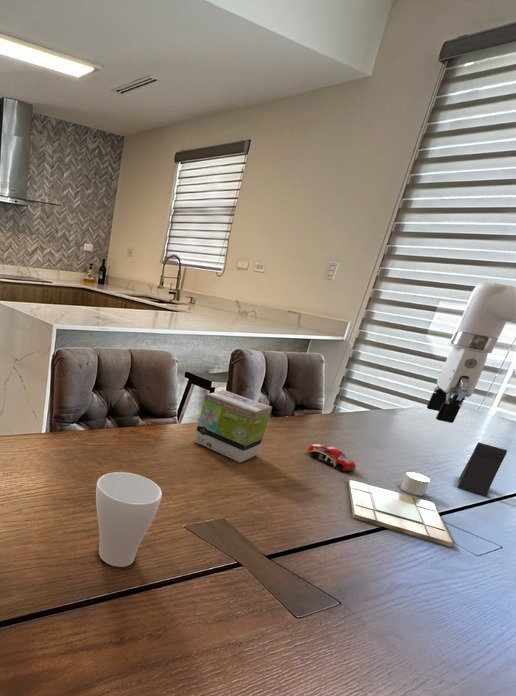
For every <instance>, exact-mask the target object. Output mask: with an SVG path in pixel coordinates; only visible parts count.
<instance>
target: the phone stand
mask: <svg viewBox="0 0 516 696" xmlns="http://www.w3.org/2000/svg"><path fill="white" fill-rule="evenodd" d="M507 453H508V449H505V448H500V447H497V446H493V445H491V444H490V445H489V444H486V443H483V442H477V443H476V445H475V448H474V449H473V452H472V454H470V455H471V456H469V459H468V461H467V463H466V465H465V466H464V468H463V470H462V472H461V474H460V475H459V478H458V482H457V488H458V489H461V490H463V491H464V490H465V491H468V492H469V493H470V492H471V493H474V494H476V495H480V496H483V497H486V496H487V494H488V492H489V490H490V488H491V486H492V483H493V482H494V480H495V477H496V476H497V473H498V471H499V468H500V467H501V465H502V463H503V461H504V459H505V458H506V456H507Z"/></svg>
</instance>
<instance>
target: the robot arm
mask: <svg viewBox="0 0 516 696" xmlns="http://www.w3.org/2000/svg"><path fill="white" fill-rule="evenodd" d="M507 322H509V323H512V324H516V285H513V284H507V283H498V282H487V281H486V282H485V281H484V282H480V283H478V284H477V285H476V286H475V287H474V288H473V290H472V293H471V295H470V297H469V300H468V302H467V304H466V307H465V309H464V311H463V313H462V315H461V318H460V320H459V322H458V323H457V326H456V329H455V331H454V332H453V335H452V338H451V340H450V342H449V345H448V346H450V347H452V348H451V350H450V352H449V354H448V356H447V358H446V360H445V362H444V364H443V366H442V368H441V370H440V373H439V375H438V377H437V380H436V387H435V388H434V390H433V392H432V394H431V396H430V398H429V401H428V403H427V406H426V409H427V410H431V411H437V414H436V416H435V419H436V420H437V421H440V422H445V423H450V424H453V423H454V422H455V420H456V418H457V416H458V413H459V411H460V410H461V407H462V406H463V403H464V401H465V400H466V398H470V397H471V396H472V395H473V394H474V391H475V389H476V387H477V385H478V382H479V380H480V377H481V375H482V372H483V370H484V367H485V364H486V362H487V358H488V354H492V353H493V350H494V348H495V346H496V344H497V342H498V340H499V339H500V336H501V334H502V332H503V330H504V328H505V326H506V323H507Z"/></svg>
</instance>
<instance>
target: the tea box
mask: <svg viewBox="0 0 516 696" xmlns="http://www.w3.org/2000/svg"><path fill="white" fill-rule="evenodd" d="M272 410H273V406H271V405H268V404H265V403H262V402H259V401H256V400H254V399H251V398H248V397H246V396H243V395H239V394H236V393H234V392H231V391H229V390H225V389H222V390H218V391H215V392H210V393H205V395H204V399H203V402H202V406H201V411H200V414H199V417H198V423H197V426H196V430H195V435H194V439H193V443H195V444H199V445H201V446H203V447H206V448H207V449H209V450H212V451H213V452H216V453H218V454H220V455H223V456H225V457H227V458H229V459H231V460H233V461H235V462H237V463H239V464H240V463H243V462H244V461H247V460H250V459H251V458H254V457H255V456H257V455H258V453H259V451H260V447H261V445H262V441H263V439H264V436H265V431H266V429H267V426H268V423H269V418H270V416H271V413H272Z"/></svg>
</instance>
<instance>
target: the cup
mask: <svg viewBox="0 0 516 696" xmlns="http://www.w3.org/2000/svg"><path fill="white" fill-rule="evenodd" d="M162 499H163V491H162V488H161V486H159V485H158V484H157V483H156V482H154V481H153V480H151V479H149V478H147V477H146V476H143V475H139V474H137V473H131V472H126V471H125V472H123V471H115V472H109V473H105V474H103V475H101V476H100V477H99V478H98V479H97V482H96V489H95V504H96V516H97V525H98V536H99V545H98V556H99V557H100V559H101V560H102V561H103V562H104V563H106V564H107V565H110V566H112V567H117V568H124V567H125V568H126V567H129V566H131V565H132V564H134V563H133V562H134V561H135V558H136V555H137V553H138V549H139V548H140V545H141V543H142V541H143V539H144V537H145V535H146V534H147V532H148V531H149V529H150V527H151V525H152V523H153V521H154V519H155V517H156V514H157V512H158V510H159V507H160V504H161V500H162Z"/></svg>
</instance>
